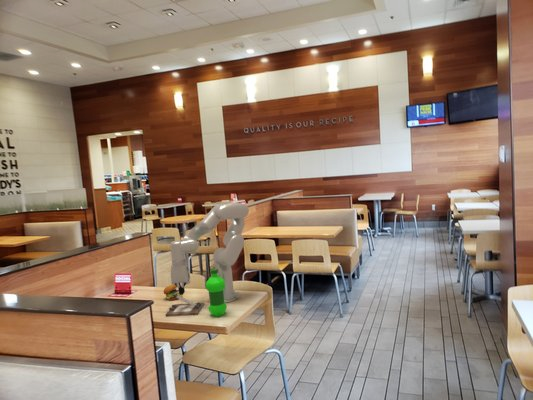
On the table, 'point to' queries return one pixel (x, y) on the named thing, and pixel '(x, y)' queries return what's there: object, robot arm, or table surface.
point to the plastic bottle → (216, 293)
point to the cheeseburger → (171, 292)
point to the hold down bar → (185, 300)
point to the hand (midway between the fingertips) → (181, 294)
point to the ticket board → (184, 309)
